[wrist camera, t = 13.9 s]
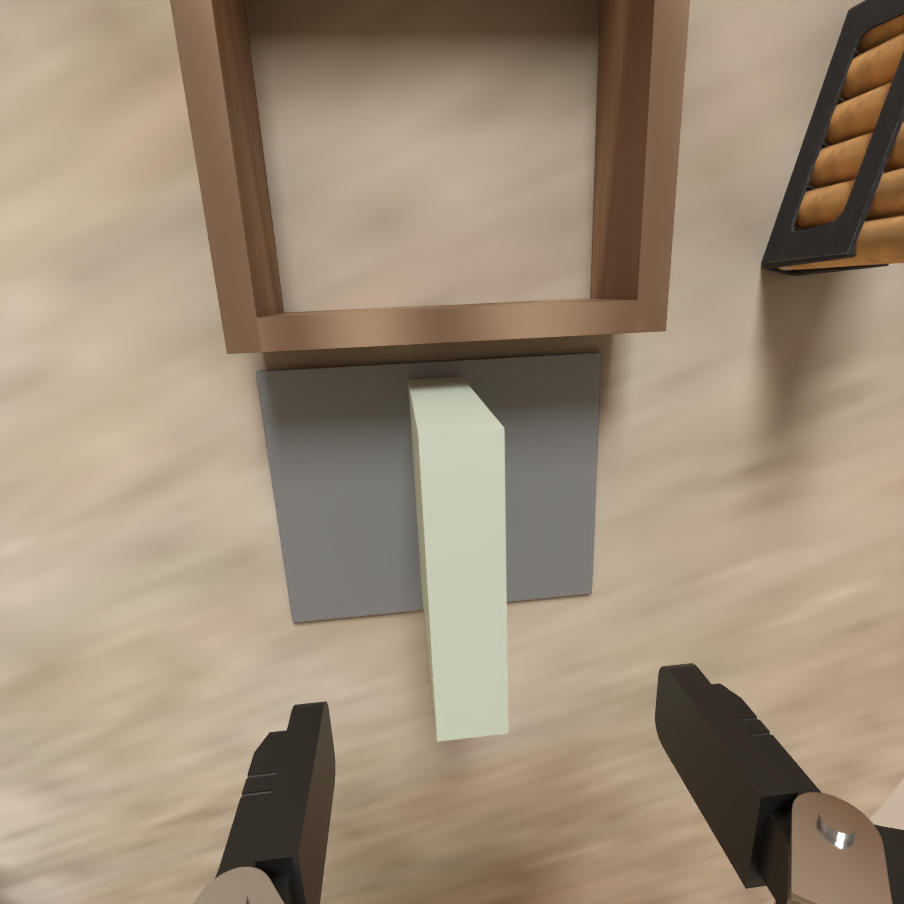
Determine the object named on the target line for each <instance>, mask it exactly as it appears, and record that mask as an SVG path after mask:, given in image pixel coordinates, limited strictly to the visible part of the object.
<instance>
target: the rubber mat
mask: <svg viewBox="0 0 904 904" xmlns="http://www.w3.org/2000/svg"><path fill="white" fill-rule="evenodd" d="M600 374H601V353H600V352H595V353H577V354H559V355H541V356H523V357H505V358H487V359H469V360H451V361H433V362H414V363H396V364H378V365H360V366H342V367H324V368H306V369H288V370H270V371H257V372H256V378H257V385H258V391H259V398H260V405H261V412H262V419H263V425H264V432H265V439H266V446H267V452H268V459H269V466H270V473H271V480H272V486H273V493H274V500H275V507H276V513H277V520H278V527H279V534H280V541H281V547H282V554H283V561H284V568H285V574H286V581H287V588H288V595H289V601H290V608H291V615H292V622H293V623H296V622H306V621H316V620H326V619H337V618H347V617H357V616H367V615H378V614H388V613H398V612H408V611H419V610H424V608H423V598H422V588H421V573H420V558H419V542H418V527H417V511H416V496H415V480H414V465H413V449H412V434H411V419H410V403H409V388H408V379H426V378H443V377H460V376H462V378H463V379H464V380H465V381H466V382H467V384H468V385H469V386H470V387H471V388H472V390H473V391H474V392H475V393H476V394H477V396H478V397H479V398H480V399H481V400H482V402H483V403H484V404H485V405H486V406H487V408H488V409H489V410H490V411H491V412H492V414H493V415H494V416H495V417H496V418H497V420H498V421H499V422H500V423H501V424H502V426H503V427H504V433H505V512H506V591H507V602H511V601H521V600H531V599H541V598H552V597H562V596H572V595H582V594H592V578H593V553H594V527H595V501H596V476H597V450H598V425H599V399H600Z"/></svg>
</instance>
